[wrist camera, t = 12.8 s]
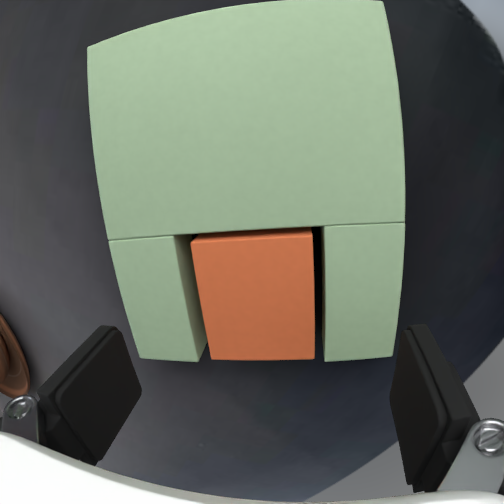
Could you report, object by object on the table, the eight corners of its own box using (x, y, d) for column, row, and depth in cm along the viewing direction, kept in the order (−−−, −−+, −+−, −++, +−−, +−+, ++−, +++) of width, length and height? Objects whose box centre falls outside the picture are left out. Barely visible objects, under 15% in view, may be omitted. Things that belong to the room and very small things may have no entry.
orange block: (309, 220, 15) (312, 235, 12) (313, 330, 17) (314, 359, 14) (205, 227, 16) (189, 242, 13) (221, 332, 17) (211, 359, 15)
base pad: (371, 19, 11) (383, 0, 9) (382, 330, 16) (392, 356, 14) (111, 56, 13) (86, 47, 11) (155, 335, 18) (139, 358, 16)
